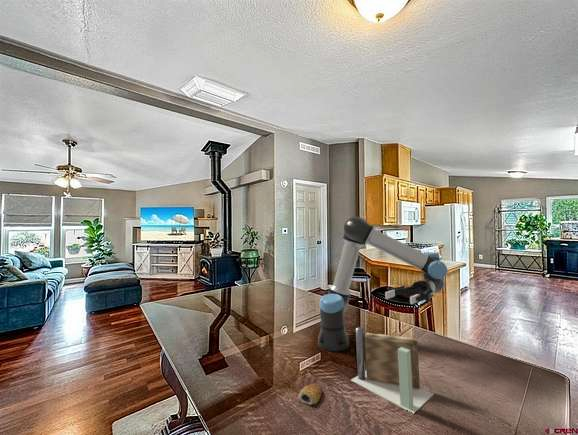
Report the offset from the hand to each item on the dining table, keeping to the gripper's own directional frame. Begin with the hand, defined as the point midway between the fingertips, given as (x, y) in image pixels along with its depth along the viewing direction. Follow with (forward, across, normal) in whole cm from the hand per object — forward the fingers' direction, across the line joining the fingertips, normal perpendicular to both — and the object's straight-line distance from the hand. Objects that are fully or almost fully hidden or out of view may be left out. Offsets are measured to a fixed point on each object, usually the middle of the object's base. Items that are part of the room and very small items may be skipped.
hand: (398, 298), depth 108 cm
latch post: (+21, -13, -28) cm, 37 cm away
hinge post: (+18, +6, -28) cm, 34 cm away
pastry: (+40, +11, -28) cm, 51 cm away
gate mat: (+15, -4, -28) cm, 32 cm away
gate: (+13, -4, -27) cm, 30 cm away
